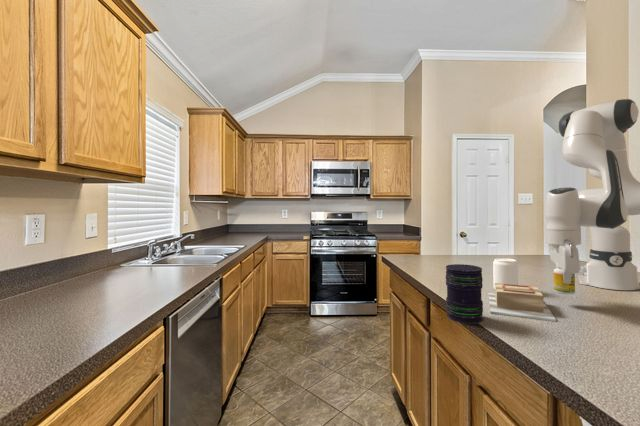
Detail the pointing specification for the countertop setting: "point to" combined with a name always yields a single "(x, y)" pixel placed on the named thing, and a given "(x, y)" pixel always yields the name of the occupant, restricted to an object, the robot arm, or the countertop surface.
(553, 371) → the countertop surface
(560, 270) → the supplement bottle
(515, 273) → the beverage can
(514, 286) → the stand
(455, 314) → the storage jar
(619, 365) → the countertop surface
